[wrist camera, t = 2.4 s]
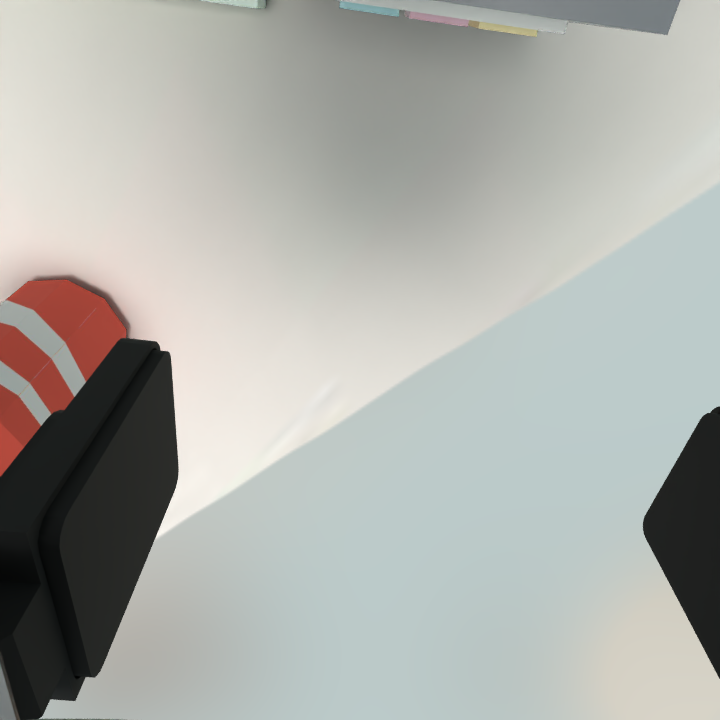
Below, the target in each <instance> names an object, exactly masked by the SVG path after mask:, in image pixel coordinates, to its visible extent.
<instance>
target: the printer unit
mask: <svg viewBox="0 0 720 720" xmlns="http://www.w3.org/2000/svg"><path fill="white" fill-rule="evenodd" d="M337 1H340V7H339V8H343V9H349V10H356V11H363V12H370V13H377V14H383V15H390V16H397V17H399V10H405V14H404V15H405V16H406V17H408V18H410V19H417V20H424V21H431V22H438V23H444V24H451V25H458V26H465V27H468V26H472V27H475V28H478V29H485V30H492V31H499V32H505V33H512V34H519V35H526V36H533V37H536V36H537V32H538V30H540V31H547V32H553V33H560V34H565V31H566V27H567V24H568V22H572V23H579V24H587V25H595V26H603V27H610V28H618V29H626V30H633V31H641V32H649V33H657V34H664V35H667V34H668V32H669V29H670V26H671V24H672V21H673V18H674V15H675V13H676V10H677V7H678V5H679V2H680V0H337Z"/></svg>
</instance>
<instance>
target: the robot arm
mask: <svg viewBox="0 0 720 720" xmlns="http://www.w3.org/2000/svg"><path fill="white" fill-rule="evenodd" d="M177 480H178V454H177V439H176V425H175V410H174V396H173V381H172V367H171V356H170V353H169V352H168V351H160V346H159V344H158V343H157V342H155V341H147V340H138V339H129V338H121V339H119V340H118V341H117V343H116V344H115V345H114V346H113V348H112V349H111V350H110V352H109V353H108V354H107V356H106V357H105V358H104V359H103V361H102V362H101V363H100V365H99V366H98V367H97V368H96V370H95V371H94V372H93V374H92V375H91V376H90V378H89V379H88V380H87V381H86V383H85V384H84V385H83V387H82V388H81V389H80V390H79V392H78V393H77V394H76V396H75V397H74V398H73V400H72V401H71V402H70V403H69V405H68V406H67V407H66V409H65V410H58V411H55V412H53V413H52V414H51V415H50V416H49V417H48V418H47V419H46V420H45V422H44V423H43V424H42V425H41V427H40V428H39V429H38V430H37V432H36V433H35V434H34V435H33V437H32V438H31V439H30V440H29V442H28V443H27V444H26V445H25V447H24V448H23V449H22V450H21V452H20V453H19V454H18V455H17V457H16V458H15V459H14V460H13V462H12V463H11V464H10V465H9V467H8V468H7V469H6V470H5V472H4V473H3V474H2V475H1V477H0V720H125V719H39V718H40V717H42V716H43V714H44V712H45V709H46V707H47V705H48V703H49V701H50V699H56V700H69V701H75V700H76V698H77V695H78V693H79V691H80V689H81V686H82V684H83V682H84V679H85V677H96V676H97V675H98V673H99V672H100V670H101V668H102V666H103V664H104V661H105V659H106V657H107V654H108V652H109V649H110V647H111V644H112V642H113V640H114V637H115V635H116V632H117V630H118V627H119V625H120V622H121V620H122V617H123V615H124V613H125V610H126V608H127V605H128V603H129V601H130V598H131V596H132V593H133V591H134V588H135V586H136V583H137V581H138V579H139V576H140V574H141V571H142V569H143V567H144V564H145V562H146V559H147V557H148V554H149V552H150V549H151V547H152V545H153V542H154V540H155V537H156V535H157V532H158V530H159V528H160V525H161V523H162V520H163V518H164V515H165V513H166V510H167V508H168V506H169V503H170V501H171V498H172V496H173V493H174V491H175V488H176V484H177ZM643 531H644V535H645V538H646V540H647V542H648V543H649V545H650V547H651V549H652V551H653V553H654V555H655V557H656V559H657V560H658V562H659V564H660V566H661V568H662V570H663V572H664V574H665V576H666V577H667V580H668V581H669V583H670V585H671V587H672V589H673V591H674V593H675V595H676V597H677V599H678V601H679V602H680V604H681V606H682V608H683V610H684V612H685V613H686V616H687V618H688V620H689V621H690V623H691V625H692V627H693V629H694V631H695V633H696V635H697V637H698V638H699V640H700V642H701V644H702V646H703V648H704V650H705V652H706V654H707V656H708V658H709V659H710V661H711V663H712V665H713V667H714V669H715V671H716V673H717V675H718V677H719V678H720V407H716V408H715V409H713V410H712V411H711V413H707V414H705V415H704V416H703V417H702V418H701V419H700V421H699V423H698V425H697V426H696V428H695V430H694V432H693V433H692V435H691V437H690V439H689V440H688V442H687V444H686V446H685V447H684V449H683V451H682V452H681V454H680V456H679V458H678V460H677V461H676V463H675V465H674V466H673V468H672V470H671V472H670V473H669V475H668V477H667V479H666V480H665V482H664V484H663V486H662V488H661V489H660V491H659V492H658V494H657V496H656V498H655V499H654V501H653V503H652V505H651V506H650V508H649V510H648V512H647V513H646V515H645V517H644V521H643Z"/></svg>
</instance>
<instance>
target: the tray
mask: <svg viewBox="0 0 720 720" xmlns="http://www.w3.org/2000/svg"><path fill="white" fill-rule="evenodd" d="M201 1H208V2H215V3H221V4H228V5H235V6H242V7H249V8H256V9H260V8H266V0H201Z"/></svg>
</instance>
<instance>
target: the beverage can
mask: <svg viewBox="0 0 720 720" xmlns="http://www.w3.org/2000/svg"><path fill="white" fill-rule="evenodd" d="M121 338H126V328H125V327H124V326H123V324H122V323H121V321H120V320H119V319H118V317H117V316H116V314H115V313H114V312H113V310H112V309H111V307H110V306H109V305H108V303H107V302H106V300H105V299H104V298H102V297H100V296H98V295H96V294H94V293H92V292H90V291H88V290H86V289H84V288H82V287H80V286H78V285H76V284H74V283H72V282H70V281H68V280H44V281H28V282H27V283H26V284H24V285H23V286H22V287H21V288H20V289H18V290H17V291H16V292H15V293H14V294H12V295H11V296H10V297H9V298H8V299H6V300H5V301H4V302H3V303H1V304H0V477H1V475H2V474H3V473H4V472H5V470H6V469H7V468H8V467H9V465H10V464H11V463H12V462H13V460H14V459H15V458H16V457H17V455H18V454H19V453H20V452H21V450H22V449H23V448H24V447H25V445H26V444H27V443H28V442H29V440H30V439H31V438H32V437H33V435H34V434H35V433H36V432H37V430H38V429H39V428H40V427H41V425H42V424H43V423H44V422H45V420H46V419H47V418H48V417H49V416H50V415H51V414H52V413H53V412H55V411H58V410H65V409H66V407H67V406H68V405H69V403H70V402H71V401H72V400H73V398H74V397H75V396H76V394H77V393H78V392H79V390H80V389H81V388H82V387H83V385H84V384H85V383H86V381H87V380H88V379H89V378H90V376H91V375H92V374H93V372H94V371H95V370H96V368H97V367H98V366H99V365H100V363H101V362H102V361H103V359H104V358H105V357H106V356H107V354H108V353H109V352H110V350H111V349H112V348H113V346H114V345H115V344H116V343H117V341H118V340H119V339H121Z"/></svg>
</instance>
